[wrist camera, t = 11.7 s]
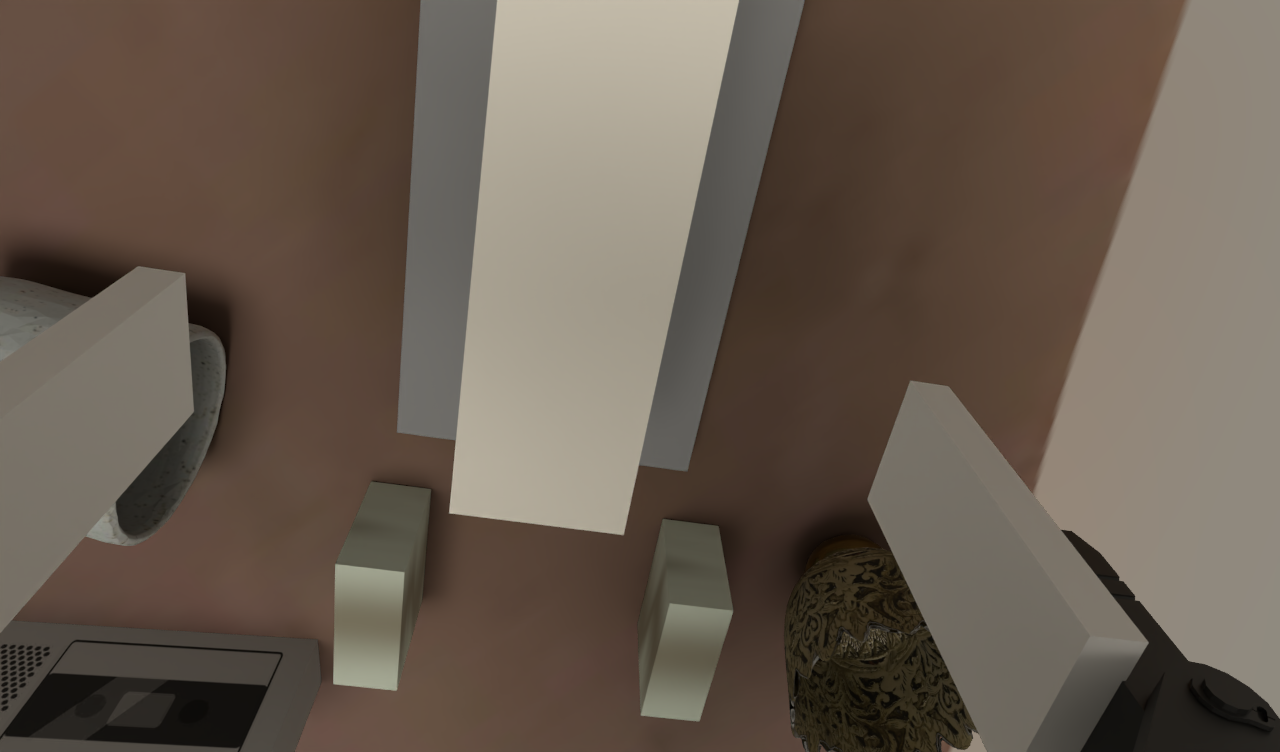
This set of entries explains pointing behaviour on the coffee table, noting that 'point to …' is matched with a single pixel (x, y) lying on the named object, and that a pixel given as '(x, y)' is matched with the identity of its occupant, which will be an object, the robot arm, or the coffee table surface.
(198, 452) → the ceramic mug
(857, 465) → the coffee table surface
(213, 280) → the coffee table surface
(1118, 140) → the coffee table surface
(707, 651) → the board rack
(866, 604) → the cup
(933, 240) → the coffee table surface
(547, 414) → the shelf board
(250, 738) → the cassette player
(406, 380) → the peg stand
